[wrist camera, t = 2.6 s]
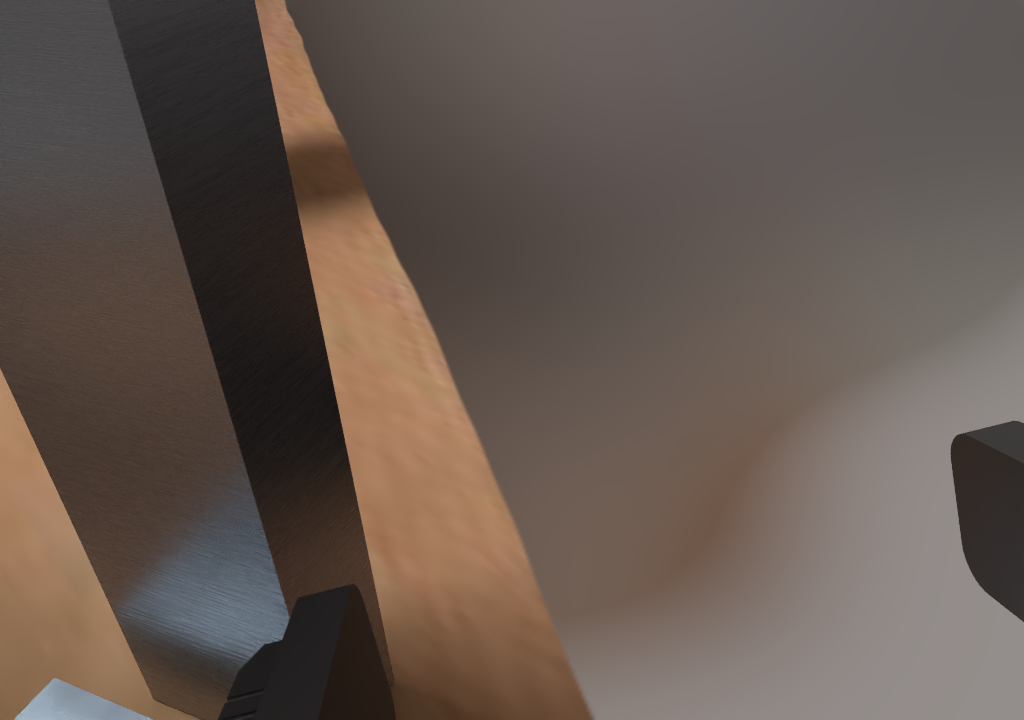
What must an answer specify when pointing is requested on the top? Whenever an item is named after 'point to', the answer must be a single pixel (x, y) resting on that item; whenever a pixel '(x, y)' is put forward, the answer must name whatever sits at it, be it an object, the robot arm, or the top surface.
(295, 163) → the top surface
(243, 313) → the press
